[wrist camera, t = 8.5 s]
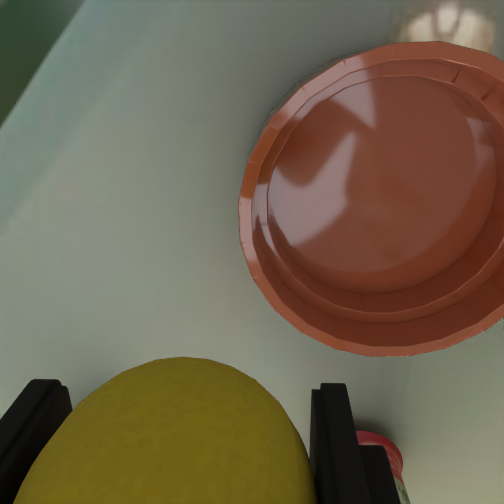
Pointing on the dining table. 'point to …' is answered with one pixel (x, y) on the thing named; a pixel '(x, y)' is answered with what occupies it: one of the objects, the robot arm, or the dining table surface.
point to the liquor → (393, 457)
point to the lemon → (174, 443)
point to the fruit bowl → (382, 200)
